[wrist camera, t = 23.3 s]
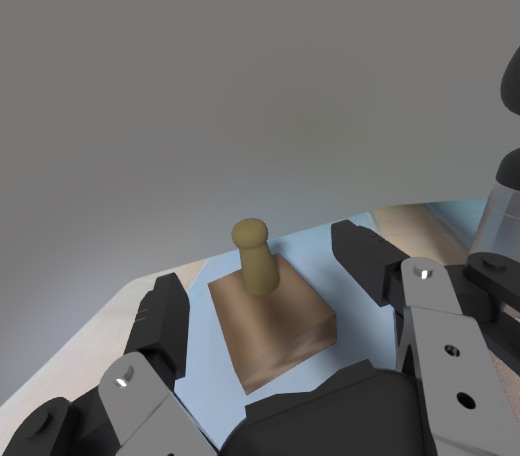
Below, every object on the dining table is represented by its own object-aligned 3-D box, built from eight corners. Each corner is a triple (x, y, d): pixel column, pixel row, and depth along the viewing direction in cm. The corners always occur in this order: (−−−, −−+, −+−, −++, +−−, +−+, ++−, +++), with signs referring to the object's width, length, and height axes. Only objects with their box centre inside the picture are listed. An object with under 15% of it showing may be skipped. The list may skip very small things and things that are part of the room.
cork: (244, 272, 38) (227, 217, 33) (277, 266, 38) (266, 209, 32) (243, 298, 33) (224, 238, 27) (282, 291, 33) (270, 229, 27)
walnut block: (282, 276, 44) (278, 252, 41) (336, 340, 31) (335, 313, 28) (217, 306, 40) (207, 283, 37) (246, 395, 27) (234, 370, 24)
